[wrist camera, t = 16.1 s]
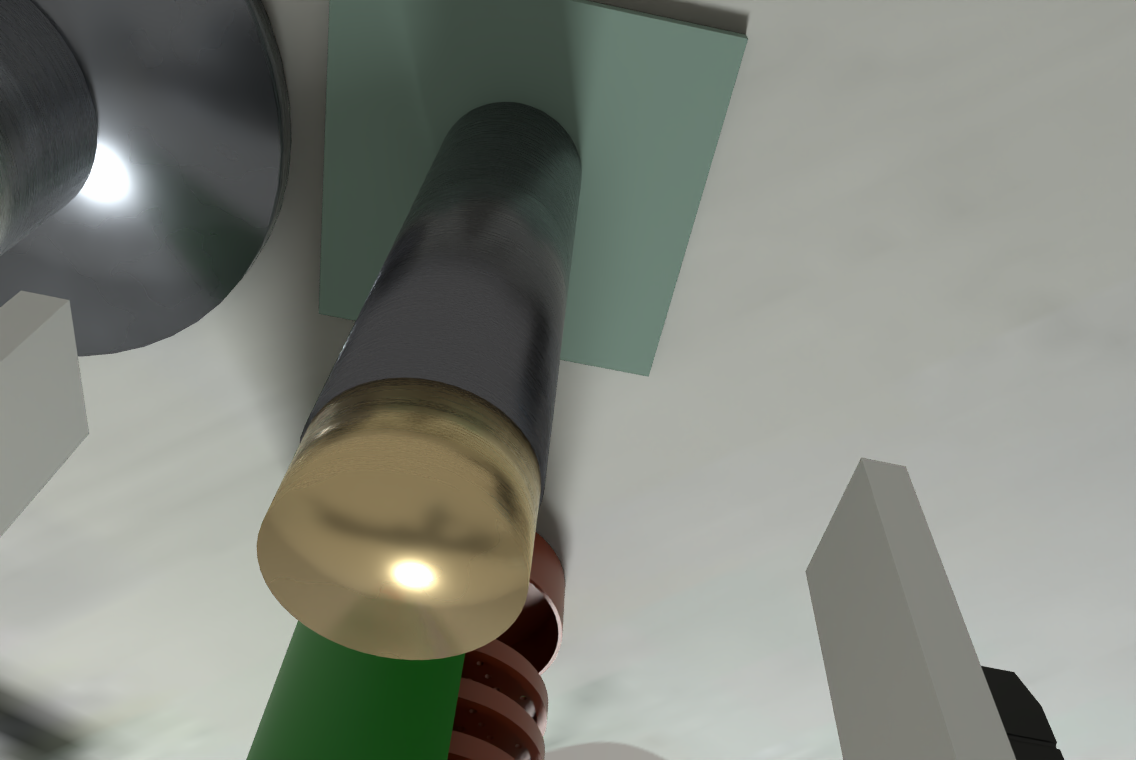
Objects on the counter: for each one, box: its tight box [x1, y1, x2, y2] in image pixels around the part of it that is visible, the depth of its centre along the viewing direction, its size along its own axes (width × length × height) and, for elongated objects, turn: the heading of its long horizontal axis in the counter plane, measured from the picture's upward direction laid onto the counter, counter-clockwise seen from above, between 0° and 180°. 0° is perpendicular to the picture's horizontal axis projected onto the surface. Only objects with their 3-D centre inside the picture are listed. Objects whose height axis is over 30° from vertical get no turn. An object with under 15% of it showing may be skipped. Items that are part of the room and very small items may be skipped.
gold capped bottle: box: [257, 102, 582, 660], centre depth 18 cm, size 4×4×14 cm
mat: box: [319, 0, 748, 377], centre depth 24 cm, size 10×10×1 cm
